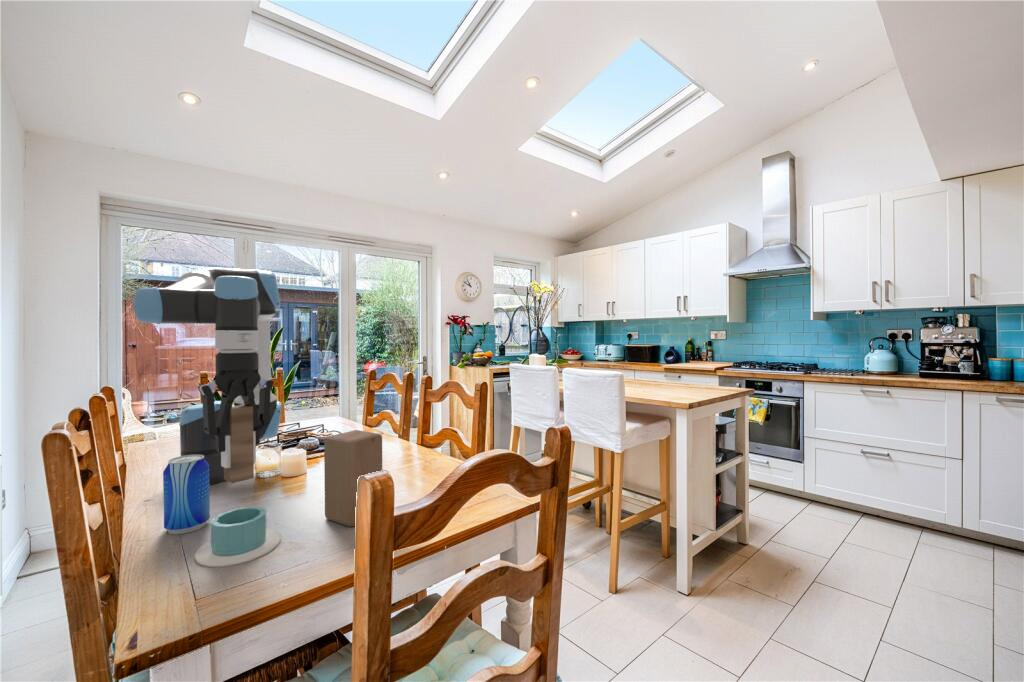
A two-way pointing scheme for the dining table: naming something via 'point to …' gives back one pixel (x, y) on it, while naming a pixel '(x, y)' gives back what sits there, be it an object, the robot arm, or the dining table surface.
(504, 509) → the dining table surface
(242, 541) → the teal cup on saucer
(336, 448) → the wooden block
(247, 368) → the robot arm
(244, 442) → the tall brown block
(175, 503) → the beer can
